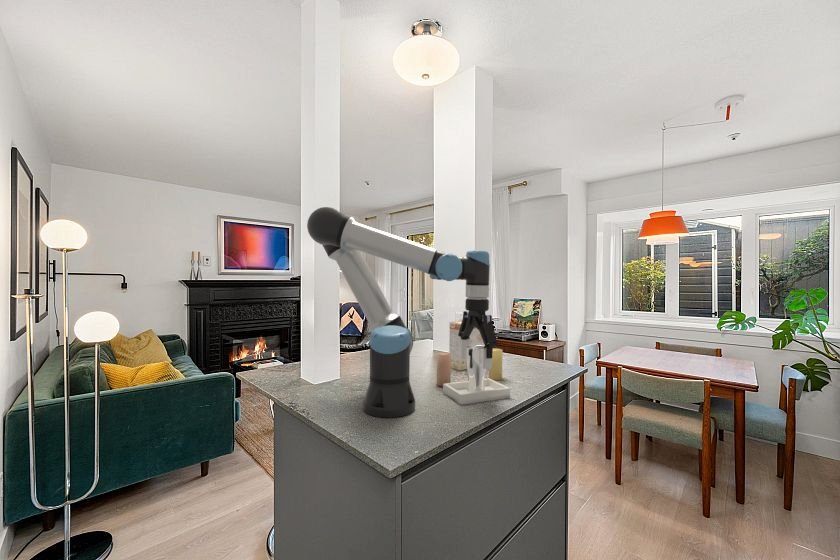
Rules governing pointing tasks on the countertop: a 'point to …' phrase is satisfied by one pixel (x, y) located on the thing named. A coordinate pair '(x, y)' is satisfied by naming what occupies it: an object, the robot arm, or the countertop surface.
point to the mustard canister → (496, 365)
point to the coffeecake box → (456, 344)
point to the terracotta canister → (443, 368)
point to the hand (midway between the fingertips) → (475, 363)
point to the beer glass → (475, 368)
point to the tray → (462, 397)
